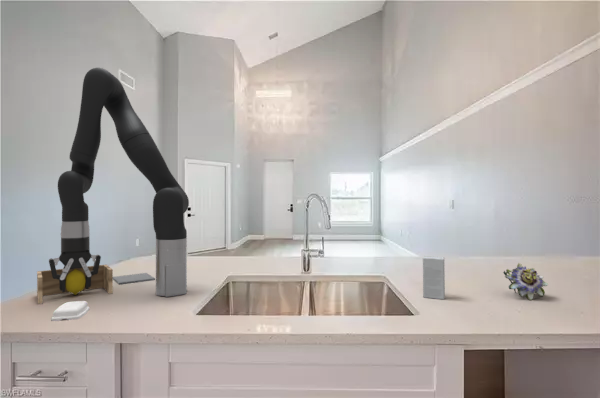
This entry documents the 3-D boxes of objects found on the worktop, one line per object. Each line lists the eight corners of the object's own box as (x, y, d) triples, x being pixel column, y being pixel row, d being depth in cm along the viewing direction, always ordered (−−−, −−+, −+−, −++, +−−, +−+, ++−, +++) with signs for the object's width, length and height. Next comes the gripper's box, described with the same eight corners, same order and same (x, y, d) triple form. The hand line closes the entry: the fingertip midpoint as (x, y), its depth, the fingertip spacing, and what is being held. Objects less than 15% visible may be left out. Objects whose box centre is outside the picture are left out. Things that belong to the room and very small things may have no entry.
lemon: (89, 292, 114) (89, 267, 114) (77, 297, 109) (77, 271, 109) (73, 292, 115) (73, 267, 115) (60, 297, 109) (60, 270, 109)
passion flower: (529, 317, 107) (512, 287, 104) (505, 300, 118) (489, 272, 115) (561, 296, 107) (545, 265, 104) (534, 281, 118) (518, 252, 115)
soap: (79, 320, 90) (79, 308, 90) (48, 322, 88) (48, 310, 88) (91, 309, 98) (91, 299, 98) (63, 311, 97) (63, 300, 97)
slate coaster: (155, 279, 133) (155, 278, 133) (119, 284, 125) (119, 282, 125) (146, 274, 142) (146, 272, 142) (112, 278, 135) (112, 276, 135)
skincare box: (444, 296, 110) (445, 257, 110) (444, 299, 106) (444, 259, 106) (424, 294, 113) (424, 255, 113) (422, 297, 109) (422, 257, 109)
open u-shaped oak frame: (112, 293, 114) (112, 269, 114) (38, 304, 102) (38, 277, 102) (106, 286, 122) (106, 264, 122) (37, 295, 111) (37, 271, 111)
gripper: (47, 238, 105) (47, 296, 105) (103, 235, 113) (103, 289, 113) (46, 236, 111) (46, 291, 111) (99, 233, 119) (99, 284, 119)
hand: (75, 289), depth 112 cm, fingers closed on lemon, 5 cm apart
